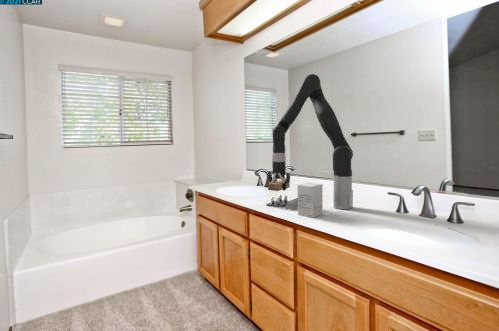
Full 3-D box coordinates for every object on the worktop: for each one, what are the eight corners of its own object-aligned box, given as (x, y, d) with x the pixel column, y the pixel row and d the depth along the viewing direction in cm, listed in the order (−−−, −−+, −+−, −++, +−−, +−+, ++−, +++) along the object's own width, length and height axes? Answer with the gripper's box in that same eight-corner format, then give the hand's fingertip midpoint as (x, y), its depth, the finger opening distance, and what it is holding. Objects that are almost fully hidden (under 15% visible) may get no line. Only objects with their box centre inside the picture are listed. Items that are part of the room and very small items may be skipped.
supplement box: (307, 211, 141) (307, 182, 140) (323, 214, 135) (323, 184, 134) (297, 214, 135) (297, 184, 134) (312, 217, 129) (312, 186, 128)
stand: (298, 204, 158) (298, 197, 157) (303, 205, 156) (303, 198, 156) (286, 209, 146) (286, 201, 146) (292, 210, 144) (292, 202, 144)
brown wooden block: (280, 186, 166) (280, 180, 165) (289, 187, 162) (289, 181, 162) (268, 189, 154) (267, 183, 154) (277, 191, 151) (277, 184, 150)
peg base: (291, 203, 162) (291, 195, 161) (280, 207, 150) (280, 199, 150) (278, 201, 167) (278, 194, 167) (266, 205, 156) (266, 197, 155)
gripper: (293, 160, 156) (293, 190, 157) (271, 160, 164) (271, 187, 166) (287, 161, 150) (287, 192, 151) (264, 160, 158) (264, 189, 159)
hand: (278, 189), depth 158 cm, fingers closed on brown wooden block, 6 cm apart
